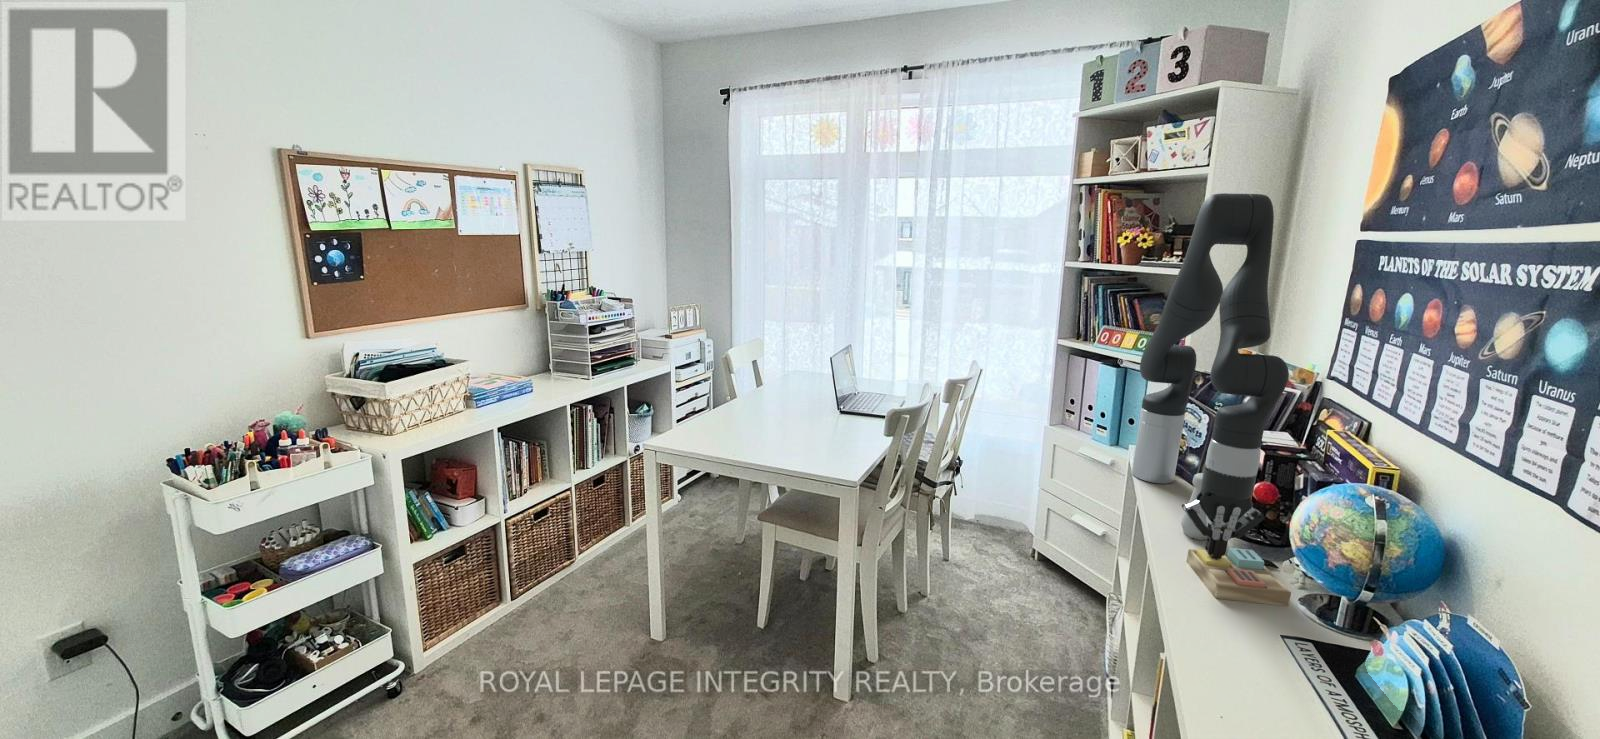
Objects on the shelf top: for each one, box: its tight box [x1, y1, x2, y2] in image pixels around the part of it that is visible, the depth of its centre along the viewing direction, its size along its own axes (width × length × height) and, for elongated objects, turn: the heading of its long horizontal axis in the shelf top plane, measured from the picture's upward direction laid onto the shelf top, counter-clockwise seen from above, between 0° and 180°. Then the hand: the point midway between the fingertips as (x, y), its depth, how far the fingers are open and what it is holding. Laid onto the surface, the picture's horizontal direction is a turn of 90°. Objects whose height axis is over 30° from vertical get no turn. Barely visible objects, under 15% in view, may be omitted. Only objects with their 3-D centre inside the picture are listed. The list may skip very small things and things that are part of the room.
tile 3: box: [1227, 568, 1265, 588], centre depth 107 cm, size 4×4×2 cm
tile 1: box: [1195, 548, 1231, 567], centre depth 113 cm, size 4×4×2 cm
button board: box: [1186, 548, 1292, 607], centre depth 110 cm, size 12×11×2 cm
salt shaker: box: [1180, 472, 1207, 541], centre depth 125 cm, size 6×6×13 cm
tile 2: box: [1226, 547, 1265, 570], centre depth 112 cm, size 4×4×2 cm
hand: (1213, 556), depth 113 cm, fingers closed
